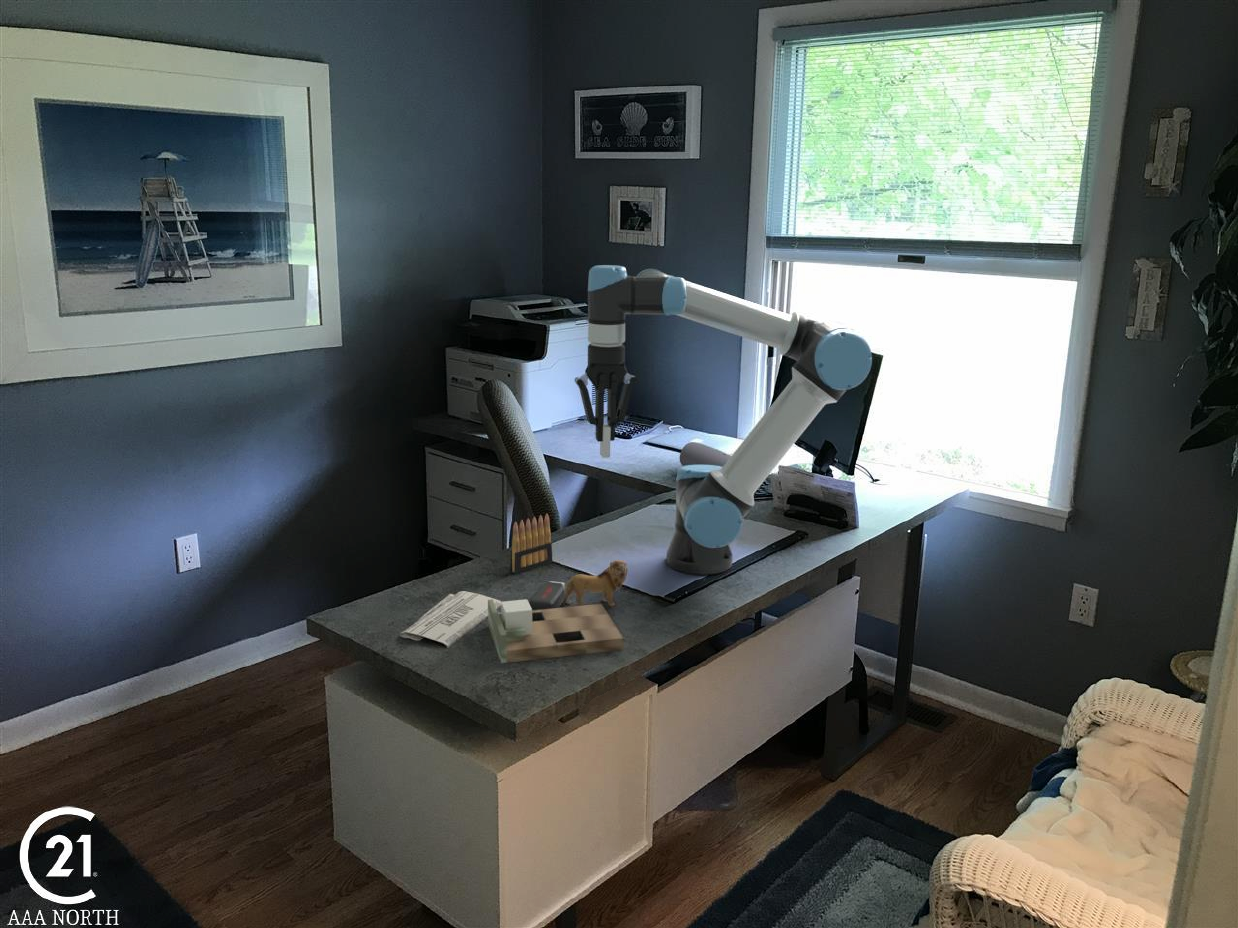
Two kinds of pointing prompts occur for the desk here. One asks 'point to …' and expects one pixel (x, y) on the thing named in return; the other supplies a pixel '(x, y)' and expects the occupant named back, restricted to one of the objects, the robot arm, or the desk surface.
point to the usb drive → (548, 596)
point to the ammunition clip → (531, 545)
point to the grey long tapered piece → (702, 455)
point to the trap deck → (556, 633)
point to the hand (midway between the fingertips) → (605, 455)
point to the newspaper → (451, 618)
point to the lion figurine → (598, 583)
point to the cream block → (517, 615)
